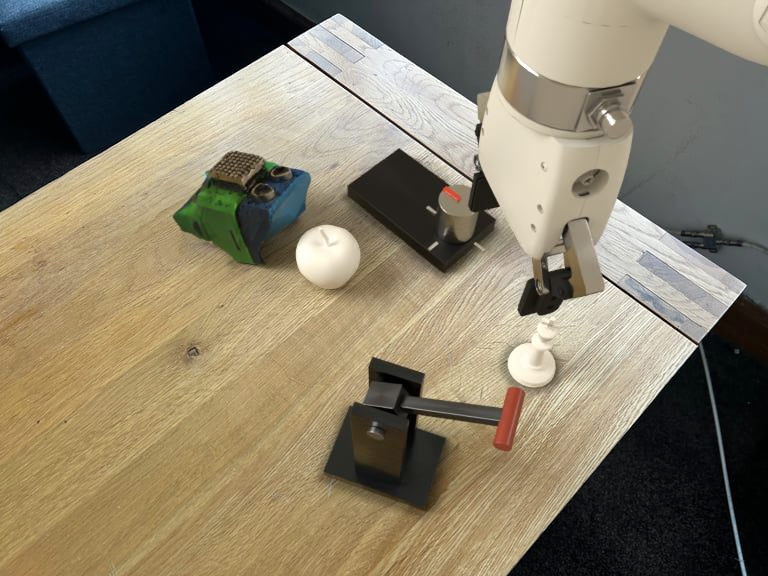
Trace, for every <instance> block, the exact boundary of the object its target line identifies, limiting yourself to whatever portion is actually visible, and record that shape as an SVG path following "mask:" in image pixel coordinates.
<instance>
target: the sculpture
mask: <svg viewBox="0 0 768 576" xmlns="http://www.w3.org/2000/svg"><path fill="white" fill-rule="evenodd" d="M204 174H205V176H206V177H205V179H204V181H203V182H202V184H201V186H200V187H199V188H198V189H197V190H196V191H195V192H194V193H193V194H192V196H190V198H188V200H187V201H186V202H185V203H184V204H183V205H182V206H181V207H180V208H179V209H177V210H176V211H175V213H174V214H173V215H172V219H173V220H174V222H175V223H176V225H177V226H178V227H179V229H180V231H181V232H184V233H187V234H191V235H192V236H194V237H196V238H197V239H199V240H201V241H202V242H203V243H209V244H211V245H213V246H217V247H218V248H220V249H221V250H222V251H224V252H225V253H227V254H228V255H230V257H231V258H232V259H233V261H234V262H235V263H246V264H252V265H259V266H261V265H263V266H267V263H266V261H265V259H264V257H263V256H262V254H261V252H260V250H261V248H262V246H263V244H264V243H265V242H266V241H268V239H270V238H272V237H273V236H275V235H277V234H278V233H279V232H281V231H282V230H284V229H285V228H286V227H288V226H289V225H291V224H293V223H295V221H297V220H298V219H299V218H300V216H301V215H302V214H303V213H305V211H306V210H307V204H306V201H307V200H306V199H307V194H308V191H309V188H310V185H311V182H312V176H311V174H310V173H309V172H308V171H305V170H302V169H299V168H294V167H293V168H292V167H288V166H285V165H280V164H277V163H275V162H274V161H268V160H266V159H265V157H264V156H260V155H259V154H255V153H248V152H245V151H244V152H243V151H238V150H234V151H233V150H231V151H228V152H226V153H225V154H224V155H222V157H221V159H219V160H218V161H217V162H216V163H215V164H214V165H213V166H212V168H210V169H208V170H206V171H205V172H204Z"/></svg>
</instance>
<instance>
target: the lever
mask: <svg viewBox="0 0 768 576" xmlns="http://www.w3.org/2000/svg"><path fill="white" fill-rule="evenodd" d="M506 389H507V390H506V393H505V397H504V400H503V404H502V407H499V406H498V407H497V406H492V405H491V406H490V405H483V404H475V403H467V402H460V401H452V400H445V399H437V398H430V397H423V396H422V397H415V396H410V395H409V393H408V392H407V390H406V389H405V388H404V386H403V385H402V384H396V383H388V382H379V381H371V384H370V386H369V385H368V389H367V391H366V394H365V397H364V398H363V402H362V404H364V405H367V406H370V407H373V408H376V409H379V410H382V411H385V412H388V413H391V414H394V415H397V416H400V417H403V418H406V417H407V414H415V415H419V416H423V417H428V418H429V417H430V418H436V419H443V420H450V421H457V422H465V423H471V424H479V425H485V426H490V427H491V426H492V427H496V430H495V434H494V438H493V442H492V446H493V448H495V449H496V450H498V451H502V452H510V451H512V450H513V449H512V448H513V445H514V441H515V437H516V433H517V430H518V425H519V422H520V421H519V420H520V417H521V413H522V409H523V406H524V402H525V397H526V391H525V390H523V389H522V388H520V387H518V386H509V387H508V388H506Z"/></svg>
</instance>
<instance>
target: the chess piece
mask: <svg viewBox="0 0 768 576" xmlns="http://www.w3.org/2000/svg"><path fill="white" fill-rule="evenodd" d="M560 328H561V322H559V321H556V317H555V316H552V315H551V316H550V317H549V318H546V317H542V319H541V321H539V322H538V325H537V326H536V332H535V333H534V334H533V335H532V337H531V342H525V343H521V344H519V345H517V346H516V347H514V349H513V350H512V351H511V352H510V354H509V356H508V358H507V368H508V371H509V374H510V375H511V377H512V378H513V379H514V380H515V381H516V382H517V383H519V384H520V385H522V386H525V387H528V388H541V387H544V386H546V385H548V384H549V383H550V382H551V381H552V379H554V376H555V373H556V368H557V367H556V361H555V358H554V355H553V354H552V353H551V352H550V350H551V349H552V348H553V347H554V343H555V342H554V339H556V337H557V336H558V335H559V331H560Z"/></svg>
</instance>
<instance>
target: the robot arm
mask: <svg viewBox="0 0 768 576" xmlns="http://www.w3.org/2000/svg"><path fill="white" fill-rule="evenodd" d="M670 26H672V27H674V28H676V29H679V30H680V31H683V32H685V33H688V34H690V35H692V36H693V37H696V38H699V39H700V40H702V41H705V42H706V43H709V44H711V45H713V46H715V47H717V48H719V49H722V50H723V51H726V52H728V53H730V54H732V55H734V56H737V57H740V58H741V59H744V60H746V61H748V62H749V61H750V62H752V63H755V64H758V65H761V66H764V67H767V68H768V0H511V3H510V8H509V12H508V17H507V23H506V28H505V31H504V32H505V33H504V37H503V42H502V47H501V52H500V57H499V63H498V65H497V71H496V75H495V77H494V80H493V83H492V85H491V88H490V90H489V91H485V92H480V93H478V94H477V95H476V102H477V103H476V105H477V106H476V107H477V120H478V121H479V122H478V123H476V125H475V129H474V135H475V137H476V142H477V148H478V149H477V151H478V152H477V153H476V154H473V158H472V159H473V160H472V161H473V166H474V169H475V171H476V172H474V173H473V178H472V181H471V187H470V188H471V192H470V197H469V202H468V207H469V209H470V211H471V212H474V213H476V212H480V211H488V210H493V209H498V208H500V209H501V211H502V213H503V215H504V217H505V219H506V221H507V223H508V225H509V228H510V229H511V230H512V233H513V234H514V236H515V238H516V240H517V242H518V243H519V245H520V248H521V249H522V250H523V252H525V254H527V255H528V256H529V257H530V258H531V262H532V263H531V264H532V272H533V274H532V275H533V277H532V278H529V279H527V280H526V283H525V286H524V288H523V290H522V294H521V296H520V299H519V302H518V303H517V304H518V305H517V309H516V310H517V312H518V314H519V316H520V317H527V316H531V315H534V314H537V315H538V316H540V317H543V316H547V315H551V314H553V313H554V312H555V313H556V311H557V310H559V308H560V306H561V305H562V304H563V303H564V301H569V300H572V299H578V298H583V297H587V296H591V295H595V294H599V293H603V292H604V291H605V289H606V288H605V287H606V285H605V281H604V280H605V279H604V277H603V273H602V269H601V266H600V263H599V259H598V255H597V253H596V249H595V247H596V246H597V245H598V243H599V241H600V239H601V238H602V236H603V233H604V232H605V229H606V227H607V225H608V222H609V220H610V218H611V216H612V213H613V210H614V208H615V204H616V202H617V199H618V197H619V193H620V191H621V188H622V185H623V182H624V179H625V174H626V171H627V167H628V164H629V159H630V154H631V149H632V144H633V136H634V131H635V130H634V129H635V128H634V125H633V121H632V119H631V118H630V115H631V113H632V112H633V111H632V110H633V109H634V106H635V104H636V102H637V99H638V97H639V96H640V93H641V90H642V88H643V87H644V84H645V81H646V79H647V77H648V74H649V73H650V70H651V68H652V65H653V64H654V61H655V59H656V56H657V54H658V52H659V50H660V47H661V46H662V42H663V41H664V38H665V36H666V34H667V31H668V29H669V27H670ZM561 254H562V256H563V265H564V267H561V268H558V269H552V270H549V262H548V260H549V259H548V257H552V256H553V257H554V256H557V255H561Z"/></svg>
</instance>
